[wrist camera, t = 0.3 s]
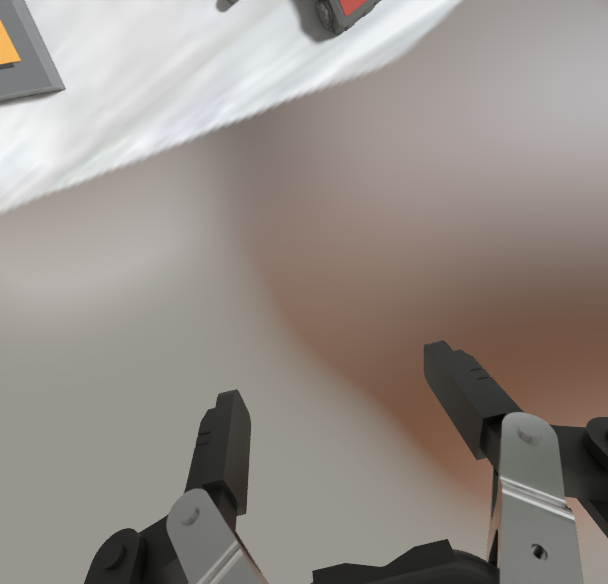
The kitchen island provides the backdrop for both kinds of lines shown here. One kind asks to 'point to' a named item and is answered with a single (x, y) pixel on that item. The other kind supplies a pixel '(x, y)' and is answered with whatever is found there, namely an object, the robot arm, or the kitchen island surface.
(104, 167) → the kitchen island surface
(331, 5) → the walkie-talkie
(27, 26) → the switch panel
